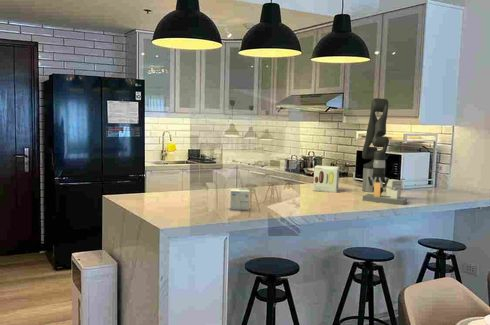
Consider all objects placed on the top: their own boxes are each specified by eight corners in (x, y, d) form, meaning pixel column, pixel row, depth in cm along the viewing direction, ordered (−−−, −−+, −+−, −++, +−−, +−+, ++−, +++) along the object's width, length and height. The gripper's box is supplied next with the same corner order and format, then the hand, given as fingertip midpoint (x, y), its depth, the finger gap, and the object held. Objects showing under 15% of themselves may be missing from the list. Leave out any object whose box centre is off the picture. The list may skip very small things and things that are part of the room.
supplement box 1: (312, 191, 353) (313, 166, 351) (315, 188, 366) (316, 165, 364) (336, 193, 348) (337, 168, 346) (338, 190, 361) (339, 166, 359)
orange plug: (375, 196, 321) (376, 178, 320) (381, 197, 319) (382, 179, 318) (373, 197, 318) (374, 179, 317) (379, 198, 316) (380, 179, 315)
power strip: (367, 198, 328) (368, 183, 327) (407, 202, 315) (408, 187, 314) (362, 200, 318) (363, 185, 317) (403, 205, 305) (404, 189, 304)
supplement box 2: (385, 197, 335) (386, 179, 334) (394, 197, 337) (396, 179, 336) (391, 199, 328) (392, 180, 327) (400, 198, 330) (402, 180, 329)
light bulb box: (248, 207, 278) (249, 189, 277) (249, 210, 271) (249, 191, 270) (230, 207, 278) (230, 188, 277) (230, 209, 271) (230, 190, 270)
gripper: (391, 167, 317) (389, 193, 318) (369, 165, 324) (368, 191, 325) (388, 168, 310) (387, 194, 312) (366, 166, 317) (365, 192, 319)
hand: (377, 192), depth 319 cm, fingers closed on orange plug, 4 cm apart
